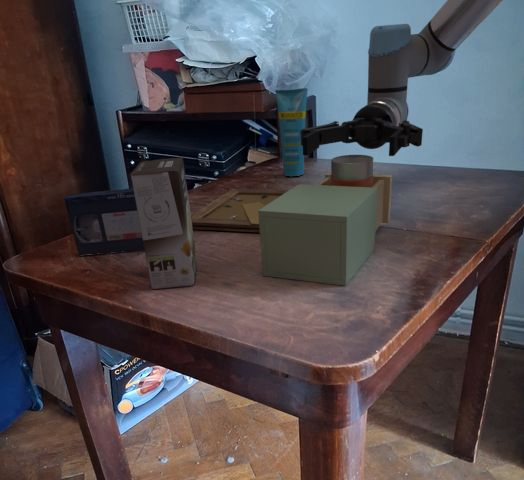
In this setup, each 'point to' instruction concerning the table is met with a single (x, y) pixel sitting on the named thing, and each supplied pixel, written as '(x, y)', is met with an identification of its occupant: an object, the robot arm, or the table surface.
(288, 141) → the tube
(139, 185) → the coffee box
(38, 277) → the table surface
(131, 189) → the vhs cassette tape
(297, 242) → the cabinet
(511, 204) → the table surface
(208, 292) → the table surface
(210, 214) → the picture frame
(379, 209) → the drawer
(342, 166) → the tin can
